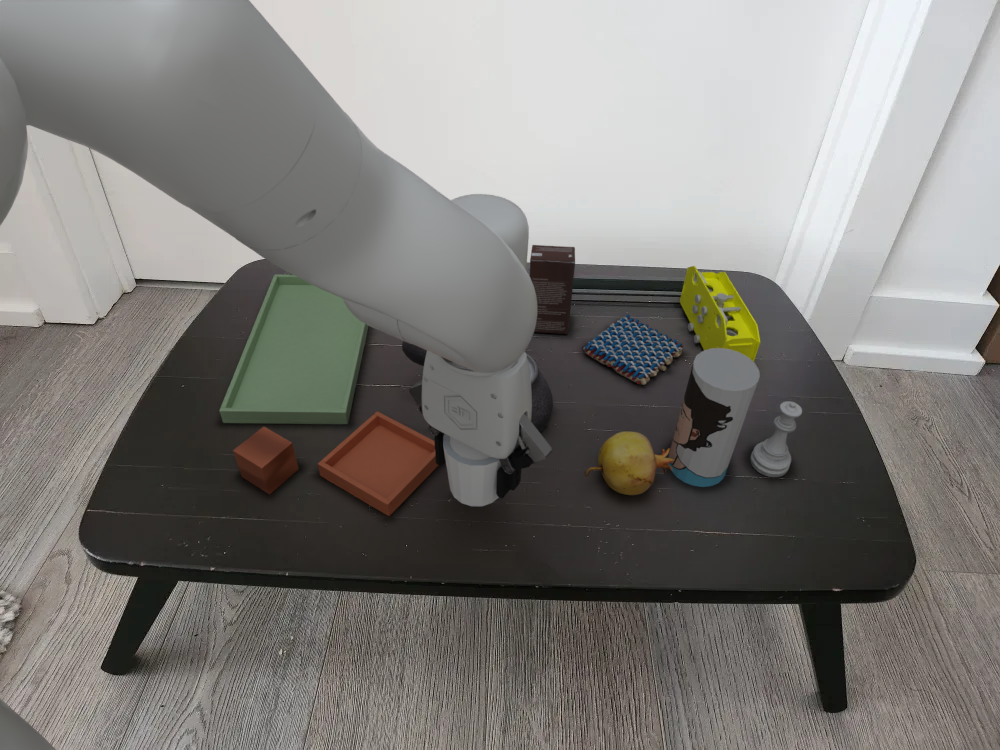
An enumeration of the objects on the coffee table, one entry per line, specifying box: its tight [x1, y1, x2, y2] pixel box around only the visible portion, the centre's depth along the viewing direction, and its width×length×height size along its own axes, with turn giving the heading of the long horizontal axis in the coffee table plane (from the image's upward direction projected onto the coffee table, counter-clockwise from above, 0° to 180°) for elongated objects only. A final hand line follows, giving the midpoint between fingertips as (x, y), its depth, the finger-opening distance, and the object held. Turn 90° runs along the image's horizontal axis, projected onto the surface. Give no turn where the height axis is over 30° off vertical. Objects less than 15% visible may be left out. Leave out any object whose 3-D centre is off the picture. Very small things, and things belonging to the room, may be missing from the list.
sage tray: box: [219, 273, 369, 425], centre depth 99 cm, size 29×15×2 cm, turn 0°
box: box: [529, 244, 576, 335], centre depth 100 cm, size 6×4×12 cm
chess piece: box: [749, 400, 803, 478], centre depth 82 cm, size 4×4×10 cm
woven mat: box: [583, 314, 684, 386], centre depth 99 cm, size 10×11×2 cm
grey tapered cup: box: [443, 434, 501, 507], centre depth 74 cm, size 7×7×7 cm
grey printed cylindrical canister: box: [667, 348, 761, 488], centre depth 80 cm, size 7×7×15 cm
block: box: [232, 426, 300, 495], centre depth 81 cm, size 4×4×4 cm
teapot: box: [401, 341, 554, 433], centre depth 88 cm, size 19×15×10 cm
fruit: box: [584, 430, 675, 496], centre depth 80 cm, size 7×7×10 cm
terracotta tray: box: [317, 410, 439, 517], centre depth 83 cm, size 10×10×2 cm
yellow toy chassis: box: [679, 265, 761, 363], centre depth 100 cm, size 16×6×8 cm, turn 7°
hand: (476, 471), depth 75 cm, fingers closed on grey tapered cup, 6 cm apart
